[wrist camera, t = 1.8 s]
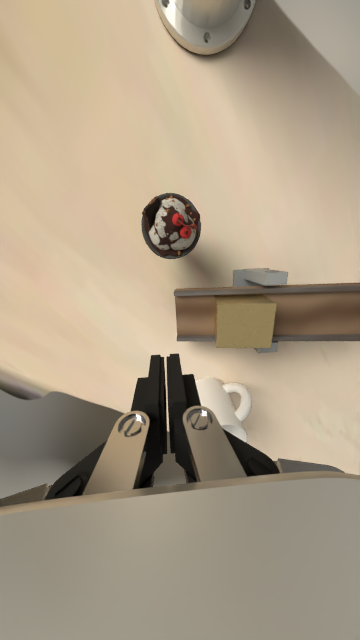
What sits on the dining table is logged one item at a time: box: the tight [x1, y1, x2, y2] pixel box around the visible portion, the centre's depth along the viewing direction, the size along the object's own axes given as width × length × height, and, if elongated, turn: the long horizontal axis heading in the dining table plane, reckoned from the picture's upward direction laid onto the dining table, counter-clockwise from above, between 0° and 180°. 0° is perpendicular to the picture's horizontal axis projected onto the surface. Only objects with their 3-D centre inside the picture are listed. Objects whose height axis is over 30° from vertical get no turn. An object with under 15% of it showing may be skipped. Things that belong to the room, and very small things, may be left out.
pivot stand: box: [233, 268, 288, 353], centre depth 31 cm, size 12×6×8 cm, turn 3°
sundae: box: [142, 193, 201, 259], centre depth 23 cm, size 7×7×15 cm
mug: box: [195, 377, 252, 443], centre depth 35 cm, size 8×12×12 cm
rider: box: [214, 295, 277, 348], centre depth 26 cm, size 6×7×5 cm
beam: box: [174, 283, 360, 341], centre depth 29 cm, size 8×28×6 cm, turn 93°
